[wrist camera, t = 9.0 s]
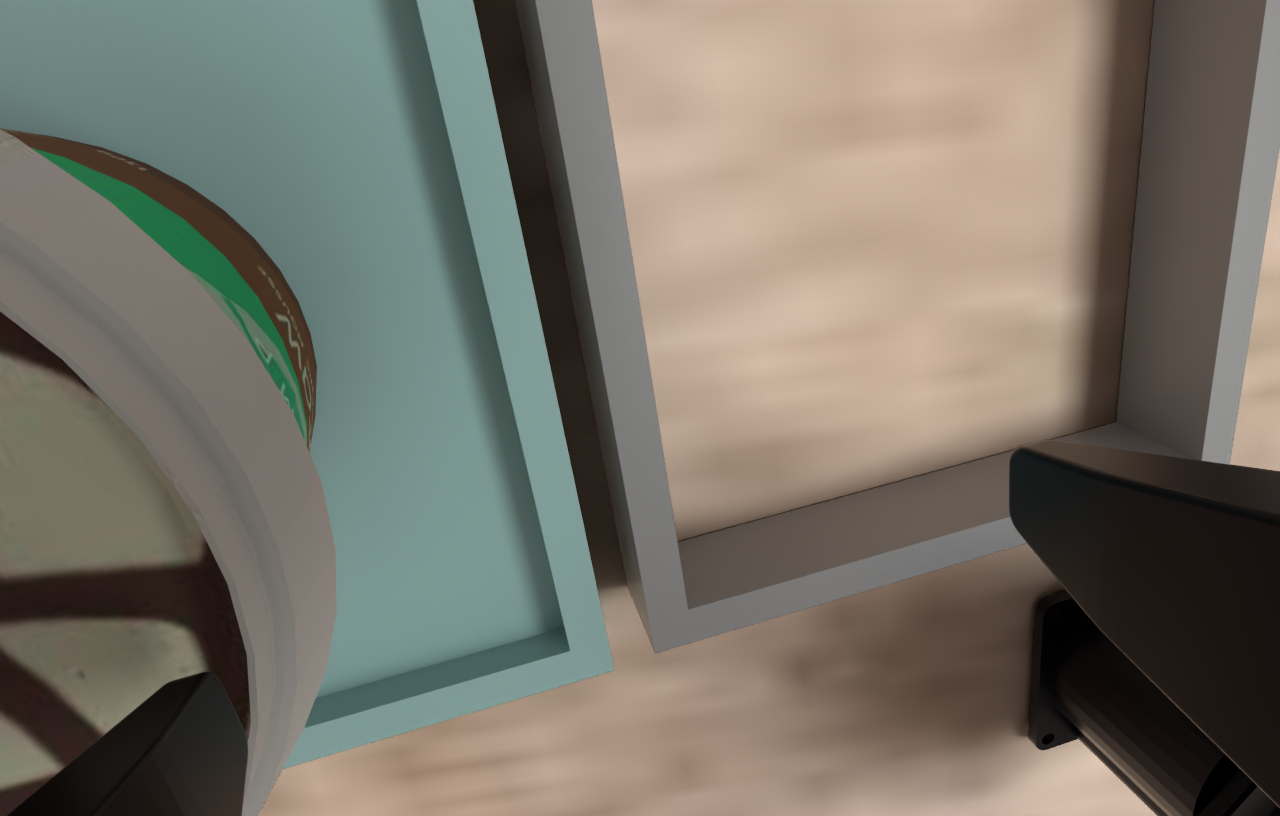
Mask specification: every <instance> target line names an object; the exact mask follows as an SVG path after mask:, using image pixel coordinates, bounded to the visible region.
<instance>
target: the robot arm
mask: <svg viewBox="0 0 1280 816" xmlns="http://www.w3.org/2000/svg"><path fill="white" fill-rule="evenodd" d="M1009 513H1010V517H1011V520H1012V523H1013V525H1014V527H1015V528H1016V530H1017V531H1018V533H1019V534H1020V535H1021V536H1022V538H1023V539H1024V540H1025V541H1026V542H1027V544H1028V545H1029V546H1030V547H1031V548H1032V550H1033V551H1034V552H1035V553H1036V554H1037V556H1038V557H1039V558H1040V559H1041V560H1042V562H1043V563H1044V564H1045V565H1046V566H1047V568H1048V569H1049V570H1050V571H1051V572H1052V574H1053V575H1054V576H1055V577H1056V578H1057V580H1058V581H1059V582H1060V583H1061V584H1062V586H1063V587H1064V588H1065V589H1066V591H1063V592H1059V593H1056V594H1053V595H1050V596H1047V597H1045V598H1043V599H1042V600H1041V601H1040V602H1039V603H1038V605H1037V606H1036V609H1035V617H1034V635H1033V654H1032V673H1031V692H1030V711H1029V730H1028V736H1029V739H1030V740H1031V741H1032V742H1033V744H1034V745H1035V746H1036V747H1037V748H1038V749H1040V750H1046V749H1050V748H1053V747H1056V746H1058V745H1061V744H1064V743H1067V742H1070V741H1073V740H1076V739H1079V740H1080V741H1081V742H1082V743H1083V744H1084V745H1085V746H1087V747H1088V748H1089V749H1090V750H1091V751H1092V752H1093V753H1094V754H1095V755H1096V756H1097V757H1098V758H1099V759H1100V760H1101V761H1102V762H1103V763H1104V764H1105V765H1106V766H1107V767H1108V768H1109V769H1110V770H1111V771H1112V772H1113V773H1114V774H1115V775H1116V776H1117V777H1118V778H1119V779H1120V780H1121V781H1122V782H1123V783H1124V784H1125V785H1126V786H1127V787H1129V788H1130V789H1131V790H1132V791H1133V792H1134V793H1135V794H1136V795H1137V796H1138V797H1139V798H1140V799H1141V800H1142V801H1143V802H1144V803H1145V804H1146V805H1147V806H1148V807H1149V808H1150V809H1151V810H1152V811H1153V812H1154V813H1155V814H1156V815H1157V816H1280V471H1273V470H1266V469H1259V468H1252V467H1244V466H1237V465H1230V464H1223V463H1215V462H1208V461H1201V460H1194V459H1186V458H1179V457H1172V456H1165V455H1157V454H1150V453H1143V452H1136V451H1128V450H1121V449H1114V448H1107V447H1099V446H1092V445H1085V444H1078V443H1070V442H1063V441H1056V440H1041V441H1038V442H1034V443H1031V444H1027V445H1023V446H1020V447H1018V448H1016V449H1015V450H1014V451H1013V452H1012V453H1011V456H1010V459H1009ZM247 763H248V743H247V737H246V734H245V731H244V729H243V726H242V724H241V722H240V720H239V718H238V716H237V714H236V712H235V710H234V707H233V705H232V703H231V701H230V699H229V697H228V695H227V693H226V691H225V688H224V686H223V684H222V682H221V681H220V679H219V678H218V677H217V676H216V675H215V674H213V673H211V672H201V673H198V674H194V675H190V676H187V677H183V678H180V679H176V680H172V681H170V682H168V683H166V684H165V685H163V686H162V687H161V688H160V689H159V690H157V691H156V692H155V693H154V694H153V695H151V696H150V697H149V698H148V699H147V700H145V701H144V702H143V703H142V704H140V705H139V706H138V707H137V708H136V709H134V710H133V711H132V712H131V713H130V714H128V715H127V716H126V717H125V718H124V719H122V720H121V721H120V722H119V723H118V724H116V725H115V726H114V727H113V728H112V729H110V730H109V731H108V732H107V733H106V734H104V735H103V736H102V737H101V738H100V739H98V740H97V741H96V742H95V743H94V744H92V745H91V746H90V747H89V748H88V749H86V750H85V751H84V752H83V753H82V754H80V755H79V756H78V757H77V758H76V759H74V760H73V761H72V762H71V763H70V764H68V765H67V766H66V767H65V768H63V769H62V770H61V771H60V772H59V773H57V774H56V775H55V776H54V777H53V778H51V779H50V780H49V781H48V782H47V783H45V784H44V785H43V786H42V787H41V788H39V789H38V790H37V791H36V792H35V793H33V794H32V795H31V796H30V797H29V798H27V799H26V800H25V801H24V802H23V803H21V804H20V805H19V806H18V807H17V808H15V809H14V810H13V811H12V812H11V813H9V814H8V815H7V816H242V809H243V800H244V791H245V781H246V772H247Z"/></svg>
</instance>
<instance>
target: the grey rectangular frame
mask: <svg viewBox="0 0 1280 816" xmlns="http://www.w3.org/2000/svg"><path fill="white" fill-rule="evenodd" d="M515 4H516V9H517V15H518V20H519V25H520V30H521V35H522V40H523V46H524V51H525V56H526V61H527V66H528V72H529V77H530V82H531V87H532V92H533V98H534V103H535V108H536V113H537V118H538V124H539V129H540V134H541V139H542V144H543V150H544V155H545V160H546V165H547V170H548V176H549V181H550V186H551V191H552V196H553V201H554V207H555V212H556V217H557V222H558V227H559V233H560V238H561V243H562V248H563V253H564V259H565V264H566V269H567V274H568V279H569V285H570V290H571V295H572V300H573V305H574V311H575V316H576V321H577V326H578V331H579V336H580V342H581V347H582V352H583V357H584V362H585V368H586V373H587V378H588V383H589V388H590V394H591V399H592V404H593V409H594V414H595V420H596V425H597V430H598V435H599V440H600V446H601V451H602V456H603V461H604V466H605V472H606V477H607V482H608V487H609V492H610V497H611V503H612V508H613V513H614V518H615V523H616V529H617V534H618V539H619V544H620V549H621V555H622V560H623V565H624V570H625V575H626V581H627V586H628V589H629V591H630V594H631V596H632V598H633V601H634V603H635V606H636V608H637V611H638V613H639V615H640V618H641V620H642V623H643V625H644V628H645V630H646V632H647V635H648V637H649V640H650V642H651V645H652V647H653V650H654V652H655V653H658V652H662V651H665V650H669V649H672V648H675V647H679V646H682V645H685V644H689V643H692V642H696V641H699V640H702V639H706V638H709V637H712V636H716V635H719V634H722V633H726V632H729V631H733V630H736V629H739V628H743V627H746V626H749V625H753V624H756V623H760V622H763V621H766V620H770V619H773V618H776V617H780V616H783V615H787V614H790V613H793V612H797V611H800V610H803V609H807V608H810V607H814V606H817V605H820V604H824V603H827V602H830V601H834V600H837V599H840V598H844V597H847V596H851V595H854V594H857V593H861V592H864V591H867V590H871V589H874V588H878V587H881V586H884V585H888V584H891V583H894V582H898V581H901V580H905V579H908V578H911V577H915V576H918V575H921V574H925V573H928V572H931V571H935V570H938V569H942V568H945V567H948V566H952V565H955V564H958V563H962V562H965V561H969V560H972V559H975V558H979V557H982V556H985V555H989V554H992V553H996V552H999V551H1002V550H1006V549H1009V548H1012V547H1016V546H1019V545H1023V544H1026V543H1027V542H1026V541H1025V540H1024V539H1023V538H1022V536H1021V535H1020V534H1019V533H1018V531H1017V530H1016V528H1015V527H1014V525H1013V523H1012V520H1011V517H1010V513H1009V459H1010V456H1011V453H1012V452H1013V451H1014V450H1012V451H1009V452H1005V453H1001V454H998V455H994V456H990V457H987V458H983V459H979V460H976V461H972V462H968V463H965V464H961V465H957V466H954V467H950V468H946V469H943V470H939V471H935V472H932V473H928V474H924V475H921V476H917V477H913V478H910V479H906V480H902V481H899V482H895V483H891V484H888V485H884V486H880V487H877V488H873V489H869V490H866V491H862V492H859V493H855V494H851V495H848V496H844V497H840V498H837V499H833V500H829V501H826V502H822V503H818V504H815V505H811V506H807V507H804V508H800V509H796V510H793V511H789V512H785V513H782V514H778V515H774V516H771V517H767V518H763V519H760V520H756V521H752V522H749V523H745V524H741V525H738V526H734V527H730V528H727V529H723V530H719V531H716V532H712V533H709V534H705V535H701V536H698V537H694V538H690V539H687V540H683V541H679V542H677V536H676V530H675V524H674V517H673V511H672V505H671V498H670V492H669V486H668V479H667V473H666V467H665V460H664V454H663V448H662V442H661V435H660V429H659V423H658V416H657V410H656V404H655V397H654V391H653V385H652V378H651V372H650V366H649V359H648V353H647V347H646V341H645V334H644V328H643V322H642V315H641V309H640V303H639V296H638V290H637V284H636V277H635V271H634V265H633V258H632V252H631V246H630V240H629V233H628V227H627V221H626V214H625V208H624V202H623V195H622V189H621V183H620V176H619V170H618V164H617V157H616V151H615V145H614V139H613V132H612V126H611V120H610V113H609V107H608V101H607V94H606V88H605V82H604V75H603V69H602V63H601V56H600V50H599V44H598V38H597V31H596V25H595V19H594V12H593V6H592V0H515ZM1279 148H1280V0H1155V4H1154V15H1153V26H1152V37H1151V47H1150V58H1149V69H1148V80H1147V91H1146V102H1145V113H1144V124H1143V134H1142V145H1141V156H1140V167H1139V178H1138V189H1137V200H1136V211H1135V222H1134V232H1133V243H1132V254H1131V265H1130V276H1129V287H1128V298H1127V309H1126V319H1125V330H1124V341H1123V352H1122V363H1121V374H1120V385H1119V396H1118V407H1117V417H1116V422H1115V423H1111V424H1107V425H1104V426H1100V427H1096V428H1093V429H1089V430H1085V431H1082V432H1078V433H1074V434H1071V435H1067V436H1063V437H1060V438H1056V439H1052V440H1056V441H1063V442H1070V443H1078V444H1085V445H1092V446H1099V447H1107V448H1114V449H1121V450H1128V451H1136V452H1143V453H1150V454H1157V455H1165V456H1172V457H1179V458H1186V459H1194V460H1201V461H1208V462H1215V463H1223V464H1230V459H1231V453H1232V447H1233V440H1234V434H1235V427H1236V421H1237V415H1238V408H1239V402H1240V396H1241V389H1242V383H1243V377H1244V370H1245V364H1246V358H1247V351H1248V345H1249V339H1250V332H1251V326H1252V320H1253V313H1254V307H1255V301H1256V294H1257V288H1258V282H1259V275H1260V269H1261V263H1262V256H1263V250H1264V244H1265V237H1266V231H1267V225H1268V218H1269V212H1270V206H1271V199H1272V193H1273V186H1274V180H1275V174H1276V167H1277V161H1278V155H1279Z"/></svg>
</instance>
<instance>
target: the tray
mask: <svg viewBox="0 0 1280 816" xmlns="http://www.w3.org/2000/svg"><path fill="white" fill-rule="evenodd" d="M0 128H1V129H8V130H14V131H21V132H28V133H34V134H41V135H47V136H54V137H58V138H63V139H67V140H72V141H76V142H81V143H85V144H90V145H94V146H98V147H103V148H105V149H108V150H111V151H114V152H116V153H119V154H122V155H125V156H127V157H130V158H133V159H135V160H138V161H141V162H144V163H146V164H149V165H150V166H152V167H154V168H156V169H158V170H160V171H162V172H164V173H166V174H168V175H170V176H172V177H174V178H176V179H177V180H179V181H181V182H183V183H185V184H187V185H189V186H190V187H192V188H193V189H195V190H196V191H197V192H199V193H200V194H202V195H203V196H205V197H206V198H207V199H209V200H210V201H212V202H213V203H215V204H216V205H217V206H219V207H220V208H222V209H223V210H224V211H226V212H227V213H228V214H229V215H230V216H231V217H232V218H233V219H234V220H235V221H236V222H237V223H239V224H240V225H241V226H242V227H243V228H244V229H245V230H246V231H247V232H248V233H249V234H250V235H252V236H253V237H254V238H255V239H256V241H257V242H258V243H259V244H260V246H261V247H262V248H263V249H264V250H265V252H266V253H267V254H268V255H269V257H270V258H271V259H272V260H273V262H274V263H275V264H276V265H277V266H278V268H279V269H280V271H281V272H282V274H283V276H284V277H285V279H286V281H287V283H288V284H289V286H290V288H291V289H292V291H293V293H294V295H295V296H296V298H297V300H298V302H299V304H300V307H301V310H302V312H303V315H304V317H305V320H306V323H307V325H308V328H309V331H310V333H311V338H312V343H313V348H314V353H315V359H316V364H317V382H316V415H315V422H314V428H313V435H312V441H311V448H310V455H311V458H312V460H313V463H314V465H315V467H316V470H317V472H318V475H319V477H320V480H321V482H322V487H323V491H324V496H325V501H326V506H327V510H328V515H329V520H330V525H331V529H332V534H333V539H334V544H335V549H336V606H337V613H336V619H335V624H334V630H333V635H332V641H331V646H330V652H329V657H328V663H327V668H326V673H325V676H324V678H323V681H322V683H321V686H320V688H319V691H318V694H317V696H316V699H315V701H314V704H313V706H312V709H311V711H310V714H309V717H308V719H307V722H306V724H305V727H304V729H303V731H302V733H301V735H300V737H299V739H298V741H297V742H296V744H295V746H294V748H293V750H292V752H291V754H290V756H289V758H288V759H287V761H286V763H285V765H284V767H283V769H284V768H288V767H291V766H295V765H298V764H301V763H305V762H308V761H311V760H315V759H318V758H321V757H325V756H328V755H331V754H335V753H338V752H342V751H345V750H348V749H352V748H355V747H358V746H362V745H365V744H368V743H372V742H375V741H379V740H382V739H385V738H389V737H392V736H395V735H399V734H402V733H405V732H409V731H412V730H415V729H419V728H422V727H426V726H429V725H432V724H436V723H439V722H442V721H446V720H449V719H452V718H456V717H459V716H463V715H466V714H469V713H473V712H476V711H479V710H483V709H486V708H489V707H493V706H496V705H499V704H503V703H506V702H510V701H513V700H516V699H520V698H523V697H526V696H530V695H533V694H536V693H540V692H543V691H547V690H550V689H553V688H557V687H560V686H563V685H567V684H570V683H573V682H577V681H580V680H583V679H587V678H590V677H594V676H597V675H600V674H604V673H607V672H610V671H614V666H613V661H612V657H611V652H610V647H609V642H608V638H607V633H606V628H605V623H604V619H603V614H602V609H601V604H600V600H599V595H598V590H597V586H596V581H595V576H594V571H593V567H592V562H591V557H590V552H589V548H588V543H587V538H586V533H585V529H584V524H583V519H582V515H581V510H580V505H579V500H578V496H577V491H576V486H575V481H574V477H573V472H572V467H571V462H570V458H569V453H568V448H567V443H566V439H565V434H564V429H563V425H562V420H561V415H560V410H559V406H558V401H557V396H556V391H555V387H554V382H553V377H552V372H551V368H550V363H549V358H548V353H547V349H546V344H545V339H544V335H543V330H542V325H541V320H540V316H539V311H538V306H537V301H536V297H535V292H534V287H533V282H532V278H531V273H530V268H529V264H528V259H527V254H526V249H525V245H524V240H523V235H522V230H521V226H520V221H519V216H518V211H517V207H516V202H515V197H514V192H513V188H512V183H511V178H510V174H509V169H508V164H507V159H506V155H505V150H504V145H503V140H502V136H501V131H500V126H499V121H498V117H497V112H496V107H495V102H494V98H493V93H492V88H491V84H490V79H489V74H488V69H487V65H486V60H485V55H484V50H483V46H482V41H481V36H480V31H479V27H478V22H477V17H476V13H475V8H474V3H473V0H0Z"/></svg>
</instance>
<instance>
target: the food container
mask: <svg viewBox="0 0 1280 816" xmlns="http://www.w3.org/2000/svg"><path fill="white" fill-rule="evenodd" d="M316 382H317V364H316V359H315V353H314V348H313V343H312V338H311V333H310V331H309V328H308V325H307V323H306V320H305V317H304V315H303V312H302V310H301V307H300V304H299V302H298V300H297V298H296V296H295V295H294V293H293V291H292V289H291V288H290V286H289V284H288V283H287V281H286V279H285V277H284V276H283V274H282V272H281V271H280V269H279V268H278V266H277V265H276V264H275V263H274V262H273V260H272V259H271V258H270V257H269V255H268V254H267V253H266V252H265V250H264V249H263V248H262V247H261V246H260V244H259V243H258V242H257V241H256V239H255V238H254V237H253V236H252V235H250V234H249V233H248V232H247V231H246V230H245V229H244V228H243V227H242V226H241V225H240V224H239V223H237V222H236V221H235V220H234V219H233V218H232V217H231V216H230V215H229V214H228V213H227V212H226V211H224V210H223V209H222V208H220V207H219V206H217V205H216V204H215V203H213V202H212V201H210V200H209V199H207V198H206V197H205V196H203V195H202V194H200V193H199V192H197V191H196V190H195V189H193V188H192V187H190V186H189V185H187V184H185V183H183V182H181V181H179V180H177V179H176V178H174V177H172V176H170V175H168V174H166V173H164V172H162V171H160V170H158V169H156V168H154V167H152V166H150V165H149V164H146V163H144V162H141V161H138V160H135V159H133V158H130V157H127V156H125V155H122V154H119V153H116V152H114V151H111V150H108V149H105V148H103V147H98V146H94V145H90V144H85V143H81V142H76V141H72V140H67V139H63V138H58V137H54V136H47V135H41V134H34V133H28V132H21V131H14V130H8V129H1V128H0V816H7V815H8V814H9V813H11V812H12V811H13V810H14V809H15V808H17V807H18V806H19V805H20V804H21V803H23V802H24V801H25V800H26V799H27V798H29V797H30V796H31V795H32V794H33V793H35V792H36V791H37V790H38V789H39V788H41V787H42V786H43V785H44V784H45V783H47V782H48V781H49V780H50V779H51V778H53V777H54V776H55V775H56V774H57V773H59V772H60V771H61V770H62V769H63V768H65V767H66V766H67V765H68V764H70V763H71V762H72V761H73V760H74V759H76V758H77V757H78V756H79V755H80V754H82V753H83V752H84V751H85V750H86V749H88V748H89V747H90V746H91V745H92V744H94V743H95V742H96V741H97V740H98V739H100V738H101V737H102V736H103V735H104V734H106V733H107V732H108V731H109V730H110V729H112V728H113V727H114V726H115V725H116V724H118V723H119V722H120V721H121V720H122V719H124V718H125V717H126V716H127V715H128V714H130V713H131V712H132V711H133V710H134V709H136V708H137V707H138V706H139V705H140V704H142V703H143V702H144V701H145V700H147V699H148V698H149V697H150V696H151V695H153V694H154V693H155V692H156V691H157V690H159V689H160V688H161V687H162V686H163V685H165V684H166V683H168V682H170V681H172V680H176V679H180V678H183V677H187V676H190V675H194V674H198V673H201V672H211V673H213V674H215V675H216V676H217V677H218V678H219V679H220V681H221V682H222V684H223V686H224V688H225V691H226V693H227V695H228V697H229V699H230V701H231V703H232V705H233V707H234V710H235V712H236V714H237V716H238V718H239V720H240V722H241V724H242V726H243V729H244V731H245V734H246V737H247V743H248V763H247V772H246V781H245V791H244V800H243V809H242V816H257V815H258V813H259V812H260V810H261V809H262V807H263V805H264V803H265V801H266V799H267V797H268V796H269V794H270V792H271V790H272V788H273V786H274V784H275V782H276V780H277V778H278V777H279V775H280V773H281V771H282V769H283V767H284V765H285V763H286V761H287V759H288V758H289V756H290V754H291V752H292V750H293V748H294V746H295V744H296V742H297V741H298V739H299V737H300V735H301V733H302V731H303V729H304V727H305V724H306V722H307V719H308V717H309V714H310V711H311V709H312V706H313V704H314V701H315V699H316V696H317V694H318V691H319V688H320V686H321V683H322V681H323V678H324V676H325V673H326V668H327V663H328V657H329V652H330V646H331V641H332V635H333V630H334V624H335V619H336V613H337V606H336V549H335V544H334V539H333V534H332V529H331V525H330V520H329V515H328V510H327V506H326V501H325V496H324V491H323V487H322V482H321V480H320V477H319V475H318V472H317V470H316V467H315V465H314V463H313V460H312V458H311V455H310V448H311V441H312V435H313V428H314V422H315V415H316Z"/></svg>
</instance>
